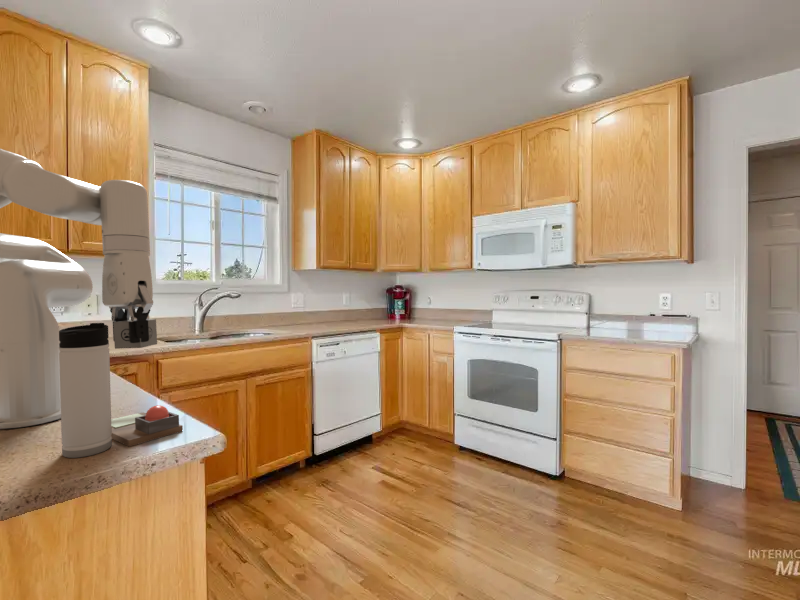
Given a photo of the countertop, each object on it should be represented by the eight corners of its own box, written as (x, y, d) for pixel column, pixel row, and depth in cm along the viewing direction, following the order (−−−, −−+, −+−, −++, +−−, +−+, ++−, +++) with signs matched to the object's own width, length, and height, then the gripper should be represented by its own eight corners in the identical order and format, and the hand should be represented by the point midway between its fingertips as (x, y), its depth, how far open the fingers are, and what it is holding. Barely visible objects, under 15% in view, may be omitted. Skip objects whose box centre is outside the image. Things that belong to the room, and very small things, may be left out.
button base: (92, 429, 74) (91, 413, 74) (143, 417, 81) (143, 402, 81) (129, 446, 66) (128, 428, 66) (182, 431, 73) (182, 414, 73)
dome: (141, 428, 71) (141, 406, 71) (163, 422, 74) (162, 401, 74) (151, 431, 69) (150, 409, 69) (173, 426, 72) (172, 404, 72)
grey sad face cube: (140, 347, 77) (139, 321, 76) (114, 348, 77) (113, 322, 77) (157, 344, 82) (155, 319, 81) (132, 344, 82) (131, 319, 82)
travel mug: (122, 441, 68) (118, 322, 68) (93, 458, 61) (90, 325, 61) (83, 442, 68) (80, 323, 67) (51, 459, 61) (47, 326, 61)
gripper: (83, 249, 79) (88, 342, 80) (127, 241, 70) (132, 346, 71) (126, 252, 86) (130, 338, 86) (171, 245, 77) (175, 340, 77)
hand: (131, 340), depth 78 cm, fingers closed on grey sad face cube, 5 cm apart
